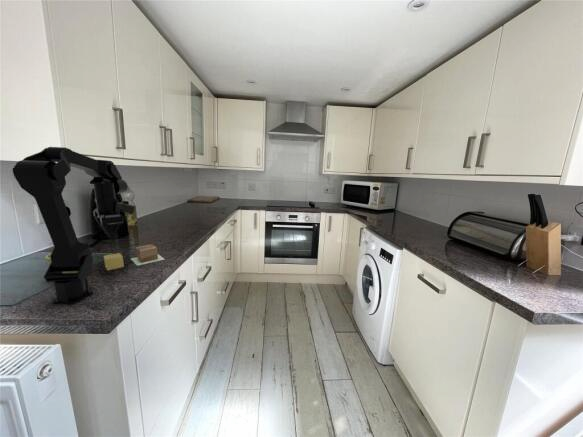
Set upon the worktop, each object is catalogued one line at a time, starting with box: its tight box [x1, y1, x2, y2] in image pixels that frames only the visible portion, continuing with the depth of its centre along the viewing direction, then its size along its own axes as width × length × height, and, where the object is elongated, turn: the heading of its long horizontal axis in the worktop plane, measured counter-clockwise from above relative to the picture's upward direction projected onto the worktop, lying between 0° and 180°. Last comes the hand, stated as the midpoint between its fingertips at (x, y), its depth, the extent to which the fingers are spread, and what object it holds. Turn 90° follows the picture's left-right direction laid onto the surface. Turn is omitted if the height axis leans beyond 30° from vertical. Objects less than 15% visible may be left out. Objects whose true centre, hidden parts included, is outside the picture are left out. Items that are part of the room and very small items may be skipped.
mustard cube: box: [103, 252, 125, 271], centre depth 89 cm, size 5×5×5 cm
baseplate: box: [130, 254, 165, 266], centre depth 98 cm, size 10×10×1 cm
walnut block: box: [136, 244, 158, 263], centre depth 97 cm, size 6×6×5 cm
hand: (111, 237), depth 87 cm, fingers open, 9 cm apart
